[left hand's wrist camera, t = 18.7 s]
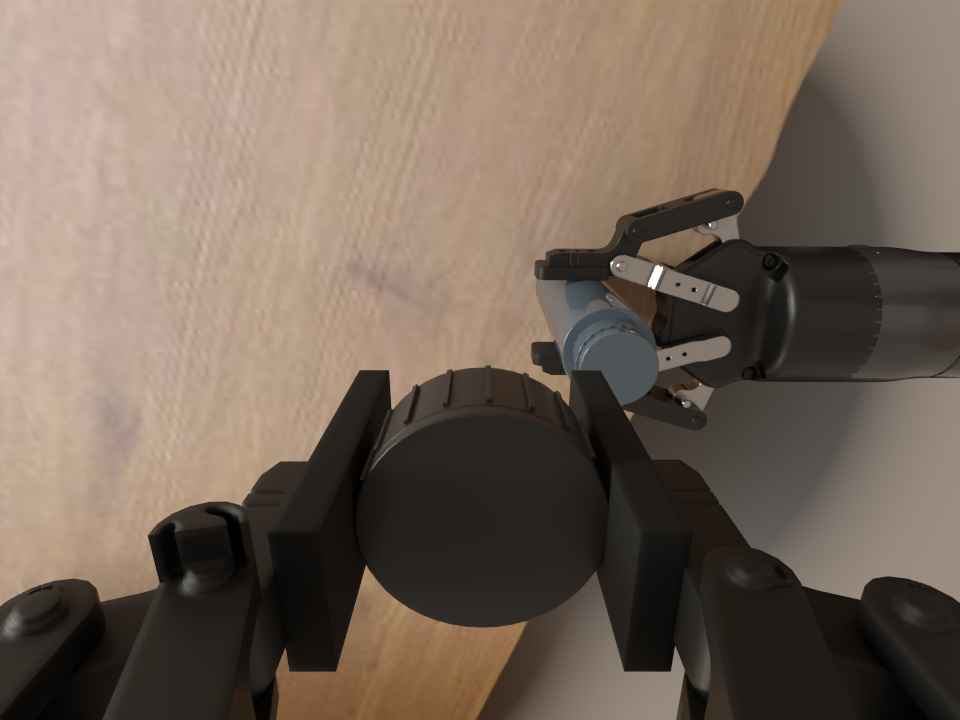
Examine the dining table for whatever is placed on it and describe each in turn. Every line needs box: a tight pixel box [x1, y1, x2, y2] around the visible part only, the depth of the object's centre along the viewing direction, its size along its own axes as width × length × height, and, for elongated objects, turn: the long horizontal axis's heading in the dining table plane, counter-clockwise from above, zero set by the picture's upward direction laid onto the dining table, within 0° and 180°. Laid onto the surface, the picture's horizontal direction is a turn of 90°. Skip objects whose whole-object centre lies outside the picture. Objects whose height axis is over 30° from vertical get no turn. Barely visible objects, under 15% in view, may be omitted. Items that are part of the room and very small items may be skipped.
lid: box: [355, 365, 609, 627], centre depth 11 cm, size 5×5×2 cm
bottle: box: [536, 279, 659, 406], centre depth 30 cm, size 4×4×15 cm
